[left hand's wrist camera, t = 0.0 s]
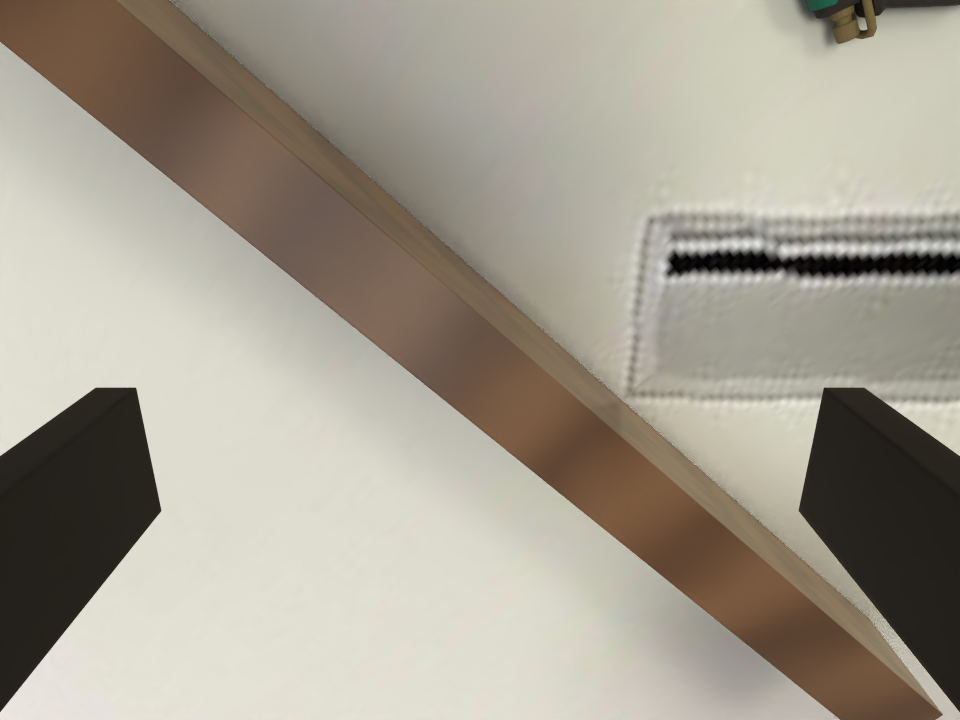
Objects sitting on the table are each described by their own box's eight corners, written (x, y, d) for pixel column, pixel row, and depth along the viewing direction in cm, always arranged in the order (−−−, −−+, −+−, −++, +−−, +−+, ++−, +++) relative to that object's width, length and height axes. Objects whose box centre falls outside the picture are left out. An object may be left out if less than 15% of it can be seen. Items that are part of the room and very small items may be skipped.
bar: (-155, -161, 32) (-361, -249, 24) (-115, -250, 31) (-318, -374, 23) (820, 654, 51) (882, 754, 43) (869, 619, 49) (943, 715, 42)
